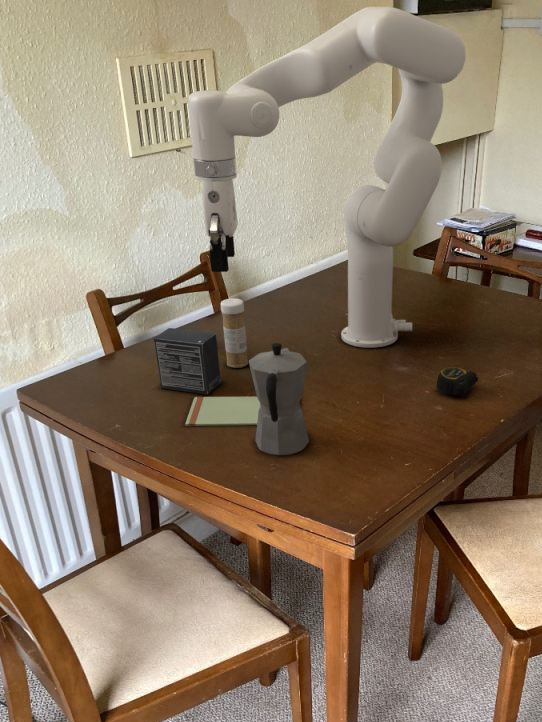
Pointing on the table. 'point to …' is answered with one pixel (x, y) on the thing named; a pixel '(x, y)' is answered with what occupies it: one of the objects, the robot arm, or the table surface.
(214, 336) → the small box
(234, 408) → the notebook
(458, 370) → the tape measure
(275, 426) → the coffeepot
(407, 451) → the table surface
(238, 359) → the sprinkles bottle
